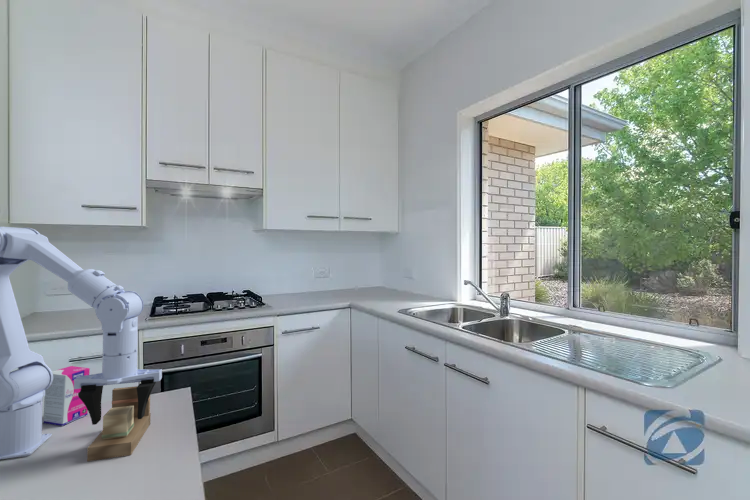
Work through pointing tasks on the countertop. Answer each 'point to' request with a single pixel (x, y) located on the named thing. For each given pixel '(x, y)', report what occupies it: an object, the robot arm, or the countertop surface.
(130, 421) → the green-banded taupe cube
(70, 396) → the supplement box
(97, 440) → the walnut base
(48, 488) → the countertop surface
